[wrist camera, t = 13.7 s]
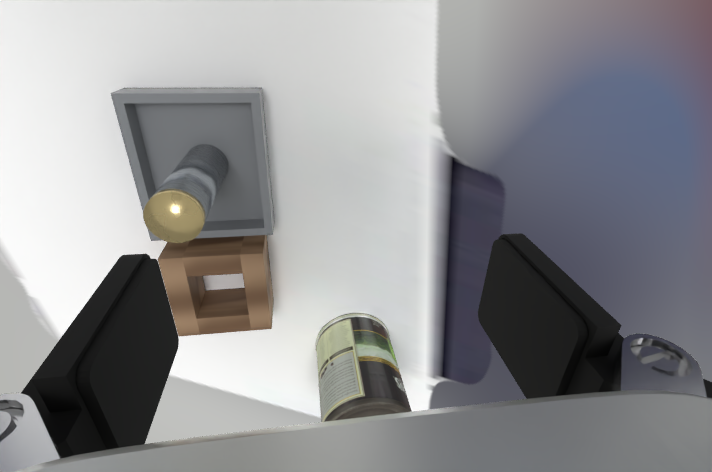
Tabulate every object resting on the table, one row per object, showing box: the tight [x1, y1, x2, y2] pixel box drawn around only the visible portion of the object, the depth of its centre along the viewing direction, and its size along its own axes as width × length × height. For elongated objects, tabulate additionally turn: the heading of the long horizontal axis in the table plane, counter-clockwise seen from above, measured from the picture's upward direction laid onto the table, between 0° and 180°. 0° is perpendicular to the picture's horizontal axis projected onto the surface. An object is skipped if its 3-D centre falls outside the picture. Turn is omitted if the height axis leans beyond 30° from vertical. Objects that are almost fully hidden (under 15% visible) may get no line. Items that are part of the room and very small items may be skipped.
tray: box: [111, 88, 274, 241], centre depth 37 cm, size 14×12×3 cm
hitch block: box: [158, 235, 273, 336], centre depth 43 cm, size 10×10×5 cm
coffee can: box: [316, 313, 412, 422], centre depth 47 cm, size 10×10×14 cm
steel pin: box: [143, 144, 229, 243], centre depth 33 cm, size 4×4×12 cm
